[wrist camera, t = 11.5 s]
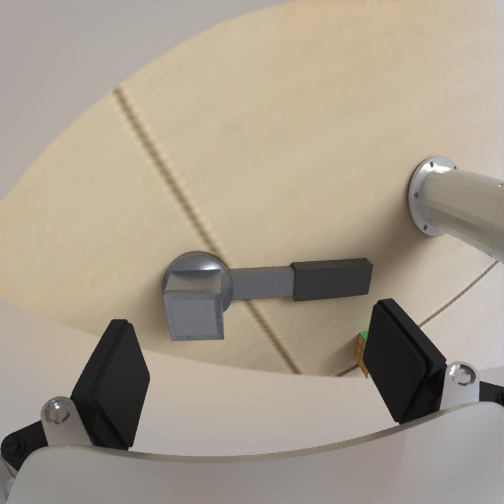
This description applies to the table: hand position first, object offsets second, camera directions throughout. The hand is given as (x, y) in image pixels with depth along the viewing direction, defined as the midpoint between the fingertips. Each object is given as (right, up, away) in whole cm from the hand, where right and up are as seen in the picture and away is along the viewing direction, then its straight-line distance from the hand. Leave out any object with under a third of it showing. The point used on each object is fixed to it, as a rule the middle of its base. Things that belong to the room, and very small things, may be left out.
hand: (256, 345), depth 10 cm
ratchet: (+2, 0, +28) cm, 28 cm away
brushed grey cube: (-7, -1, +25) cm, 26 cm away
